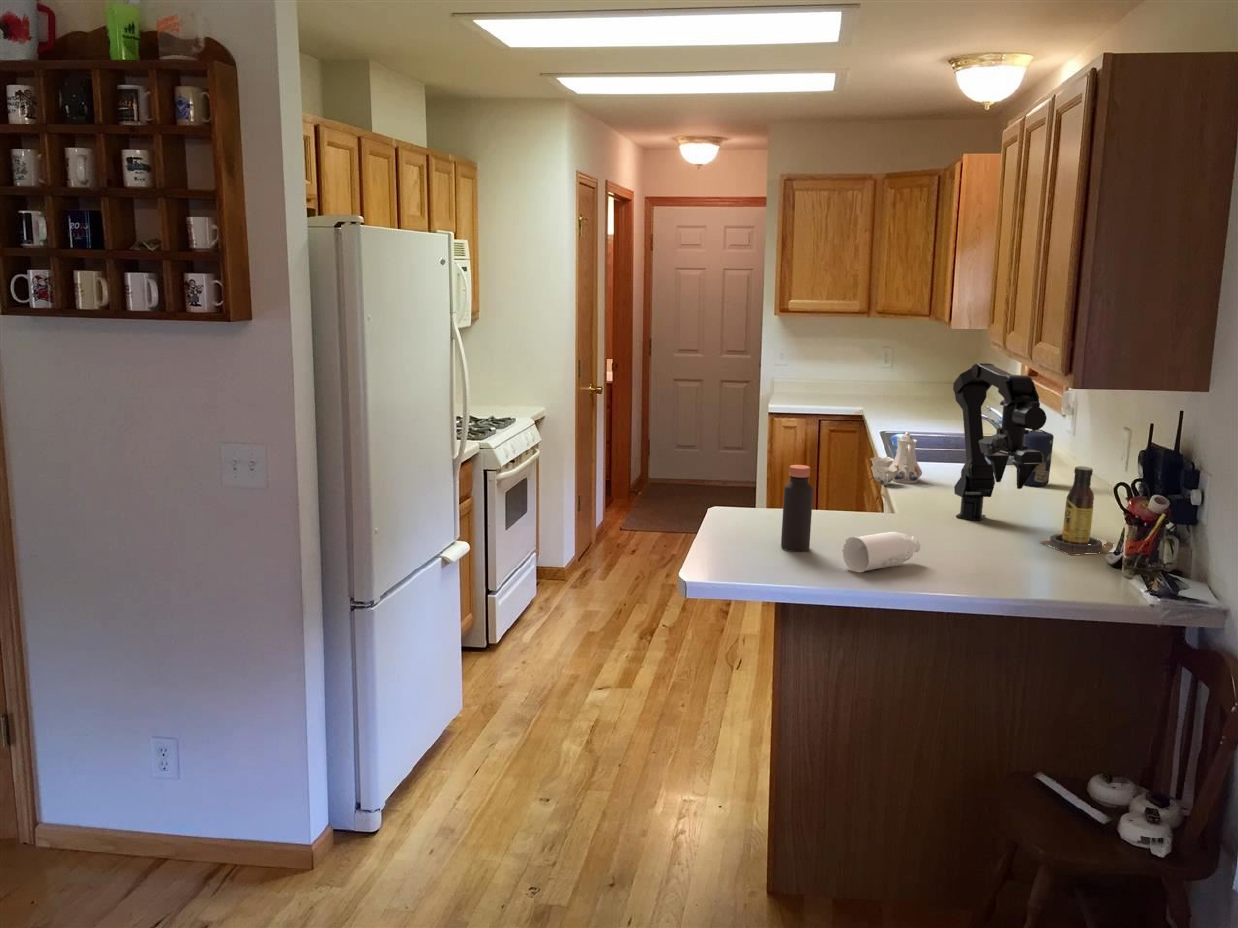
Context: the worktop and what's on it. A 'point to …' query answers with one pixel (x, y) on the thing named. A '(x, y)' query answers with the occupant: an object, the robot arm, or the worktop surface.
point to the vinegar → (797, 510)
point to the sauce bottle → (1079, 508)
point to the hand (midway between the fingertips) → (1008, 485)
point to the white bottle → (878, 551)
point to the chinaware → (898, 464)
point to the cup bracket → (1078, 549)
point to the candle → (1044, 445)
